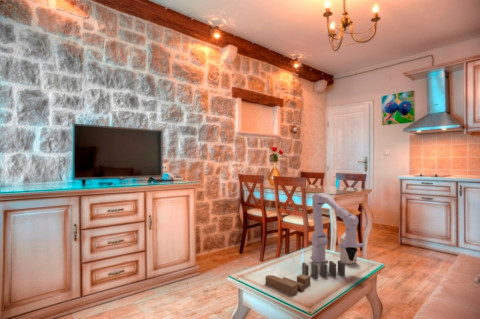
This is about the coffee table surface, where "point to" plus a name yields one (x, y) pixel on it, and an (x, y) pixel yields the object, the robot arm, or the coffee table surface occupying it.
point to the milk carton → (343, 251)
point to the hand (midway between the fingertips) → (351, 260)
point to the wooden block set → (288, 283)
